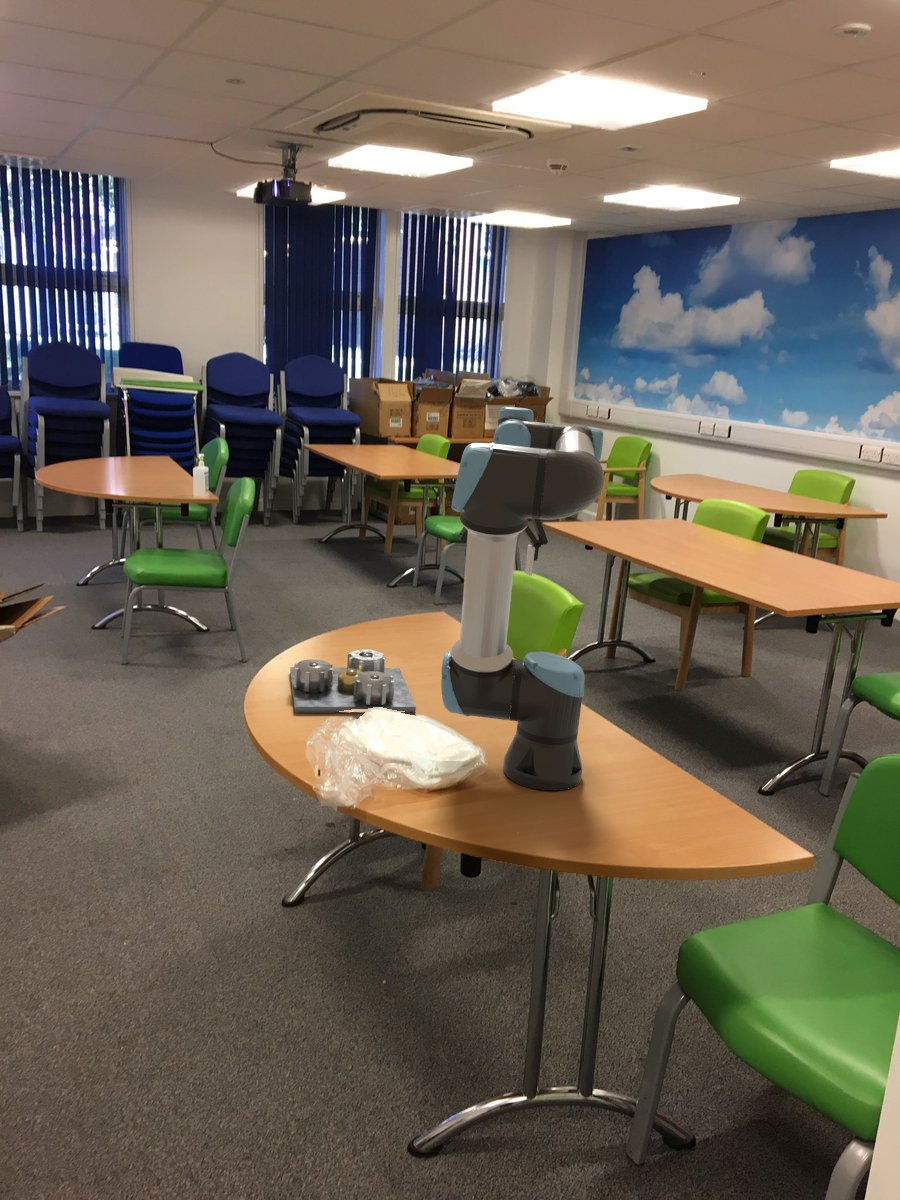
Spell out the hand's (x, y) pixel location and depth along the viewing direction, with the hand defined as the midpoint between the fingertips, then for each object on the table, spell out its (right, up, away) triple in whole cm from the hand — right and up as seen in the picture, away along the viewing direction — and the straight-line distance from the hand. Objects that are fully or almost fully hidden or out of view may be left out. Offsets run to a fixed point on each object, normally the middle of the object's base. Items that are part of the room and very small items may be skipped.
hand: (499, 573), depth 209 cm
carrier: (-34, -27, +2) cm, 43 cm away
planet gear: (-31, -24, +10) cm, 40 cm away
